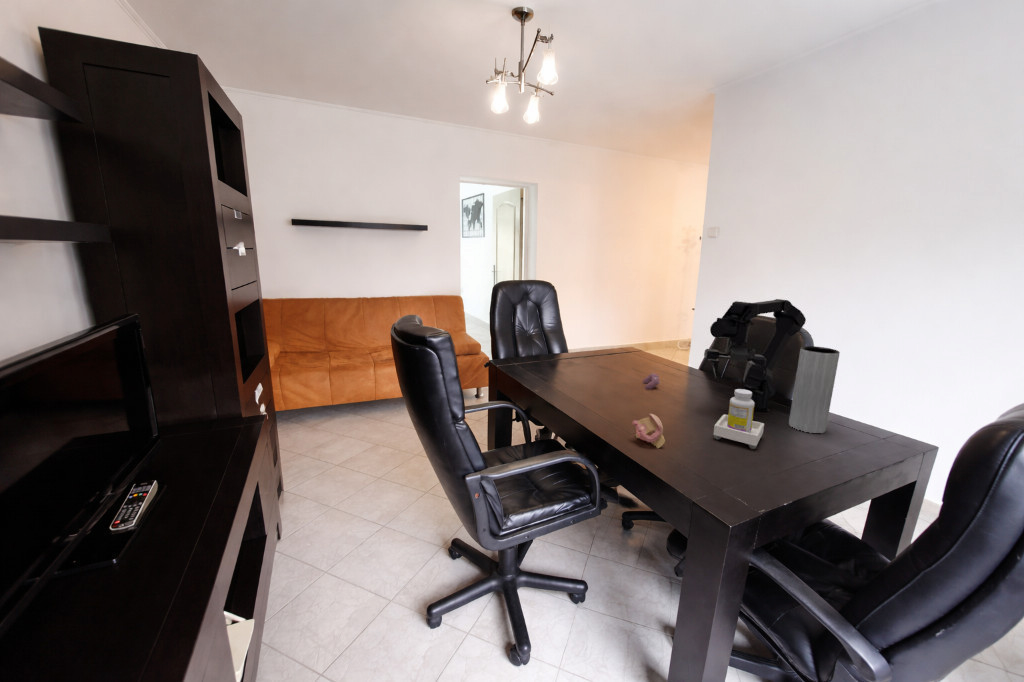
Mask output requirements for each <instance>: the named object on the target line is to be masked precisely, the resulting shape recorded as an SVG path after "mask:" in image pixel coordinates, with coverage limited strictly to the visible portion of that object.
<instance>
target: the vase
mask: <svg viewBox="0 0 1024 682" xmlns="http://www.w3.org/2000/svg"><path fill="white" fill-rule="evenodd" d="M840 353H841V352H840V351H839V350H837V349H833V348H830V347H829V348H828V347H823V346H813V345H812V346H811V345H810V346H809V345H807V346H801V347H800V351H799V354H798V355H799V357H798V363H797V367H796V368H797V371H796V374H795V381H794V387H793V388H794V389H793V394H792V401H791V407H790V413H789V419H788V425H789V427H791V428H792V427H793V428H792V429H794V428H795V429H794V430H796V429H797V431H799V430H801V431H800V432H802V431H804V433H806V432H809V433H808V434H812V433H821V434H824V433H825V432H826V431H827V430H826V429H827V426H828V419H829V415H830V414H829V413H830V409H831V403H832V397H833V394H834V393H833V392H834V387H835V381H836V375H837V370H838V366H839V361H840V360H839V359H840Z"/></svg>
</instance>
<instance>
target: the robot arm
mask: <svg viewBox="0 0 1024 682" xmlns="http://www.w3.org/2000/svg"><path fill="white" fill-rule="evenodd" d="M770 313H773V314H772V315H773V318H775V322H774V327H775V332H774V333H773V336H772V337H771V340H770V341H769V343H768V344H767V346H766V348H765V350H764V352H763V354H758V353H757V354H756V349H755V348H747V344H748V343H747V340H748V334H749V330H750V329H749V328H750V326H752V327H753V326H754V325H755V324H754V322H753V321H752V319H755V318H757V317H758V316H759V315H762V314H770ZM806 319H807V318H806V317H805V314H804V313H803V311H801V310H800V309H799V308H798V307H796V306H795V305H793V303H792V302H791V301H790V300H787V299H781V298H778V299H777V298H775V299H772V300H765V301H764V300H763V301H758V302H757V301H756V302H746V301H738V300H736V301H734V302H733V301H732V304H731V305H730V306H729V308H727V310H726V312H724V315H722V317H717V318H716V321H714V322H713V323H712V324H711V326H710V327H709V329H710V331H709V332H710V334H711V336H712V337H713V338H716V339H720V338H723V339H724V338H725V339H726V338H727V343H726V349H725V352H720V351H719V350H718V349H715V348H714V349H713V348H706V349H705V350H704V354H703V356H704V357H705V359H707V360H708V361H709V362H710V363H711V366H712V369H713V374H714V378H715V379H718V377H719V376H718V375H719V363H720V360H719V359H720V358H721V359H727V360H728V359H729V360H731V361H732V362H733V363H734V362H735V363H736V362H739V363H742V364H743V363H746V366H745V371H744V373H743V374H744V375H743V379H742V381H743V387H744V390H749V391H751V392H752V397H751V399H752V400H753V401H754V411H760V412H770V409H769V403H770V398H771V397H772V396H775V393H776V391H777V389H776V388H775V387H774V386H773V384H772V382H773V379H774V377H773V369H774V368H775V366H776V364H777V362H778V360H779V359H780V356H781V355H782V354H783V351H784V349H785V347H786V346H787V344H788V342H789V340H790V339H791V337H792V336H794V335H795V334H797V333H799V332H800V331H801V329H802V328H803V327H804V325H805V324H806Z"/></svg>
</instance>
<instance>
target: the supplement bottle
mask: <svg viewBox="0 0 1024 682" xmlns="http://www.w3.org/2000/svg"><path fill="white" fill-rule="evenodd" d="M733 394H734V396H732V397H731V398H730V400H729V407H728V414H727V415H728V423H727V428H731V429H735V430H739V431H743V432H747V433H750V432H751V429H752V421H754V420H753V419H754V411H755V410H754V401H753V400H752V399H751V397H752V392H751V391H749V390H745V388H743V389H742V388H737V389H734V393H733Z"/></svg>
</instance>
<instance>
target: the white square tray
mask: <svg viewBox="0 0 1024 682" xmlns="http://www.w3.org/2000/svg"><path fill="white" fill-rule="evenodd" d="M727 423H728V414H724V413H723V415H721V417H720V418H719V420H717V422H716V423H715V424H714V428H713V438H714V439H715V440H721V439H722V438H724V439H728V440H731V441H735V442H740V443H743V444H746V445H748V448H750V450H755V449H756V448H757V445H758V443H759V442H760V439H761V438H762V437H763V433H764V427H765V423H763V422H760V421H754V420H753V421H752V429H751V432H750V433H747V432H743V431H739V430H735V429H731V428H727Z"/></svg>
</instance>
